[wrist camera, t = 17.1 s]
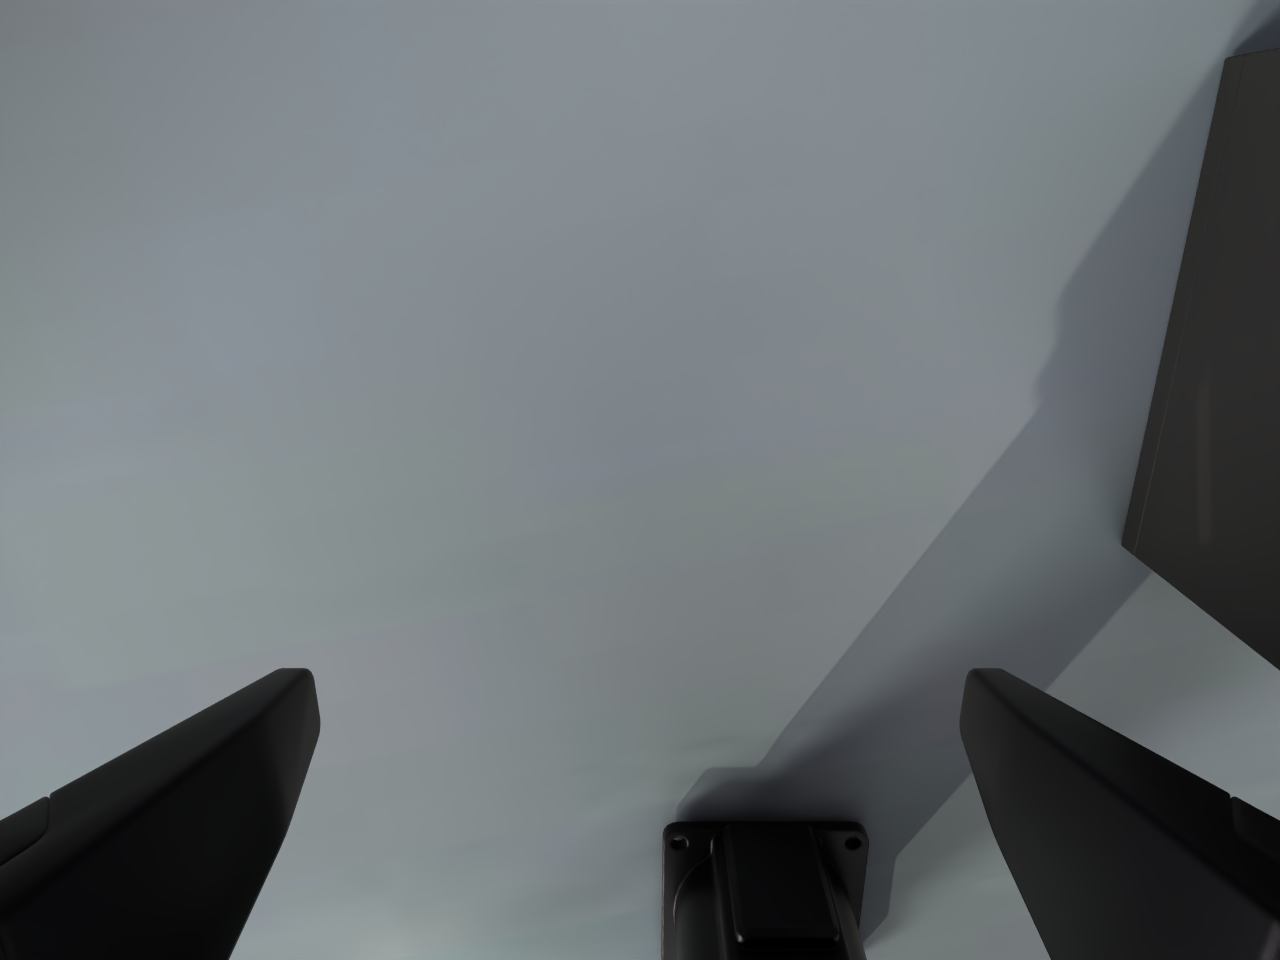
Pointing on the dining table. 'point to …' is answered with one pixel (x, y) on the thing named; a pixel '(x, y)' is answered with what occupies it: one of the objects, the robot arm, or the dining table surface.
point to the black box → (1223, 379)
